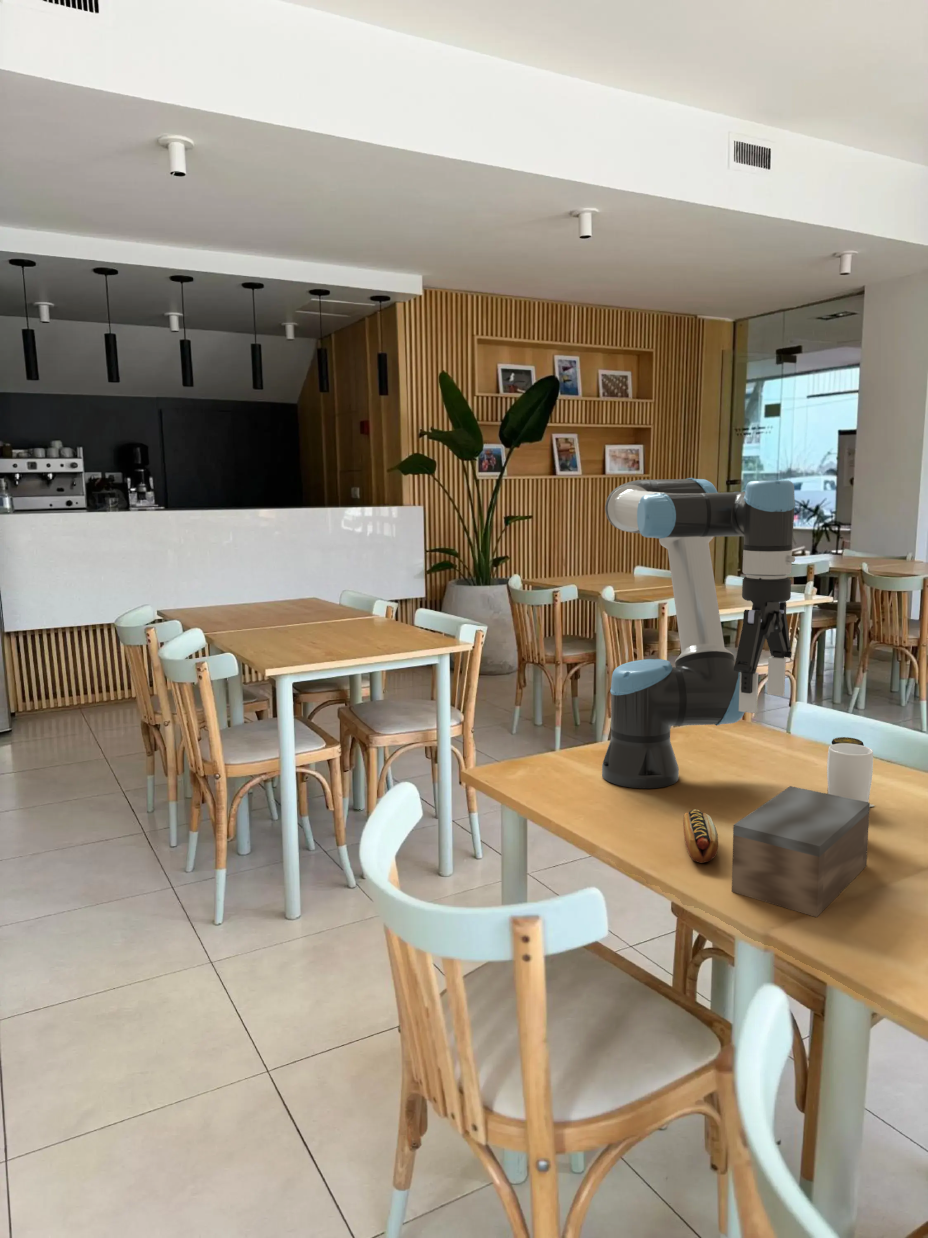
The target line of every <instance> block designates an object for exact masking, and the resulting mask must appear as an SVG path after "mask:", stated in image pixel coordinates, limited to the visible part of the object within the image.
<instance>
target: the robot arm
mask: <svg viewBox="0 0 928 1238" xmlns="http://www.w3.org/2000/svg"><path fill="white" fill-rule="evenodd" d="M795 497H796V496H795V484H794V483H793V481H791V480H787V479H786V480H783V479H782V480H780V479H779V480H778V479H777V480H751V481H748V482H747V484H746V486H745V490H744V491H734V492H718V490H717V488H716V487H715V485H714V484H713V483H712V482H711V481H710V480H707V479H703V478H694V477H687V478H685V479H684V478H681V479H679V478H678V479H677V478H676V479H675V478H674V479H673V478H672V479H671V478H670V479H663V478H662V479H637V480H631V481H628V482H625V483H622V484H621V485H618V486H617V487H615V488H614V489H613V490H612V491H611V492H610V493H609V495H608V497H606V498H607V499H606V501H605V505H604V511H605V512H604V513H605V516H606V518H607V520H608V522H609V523H610V524H611V526H612V527H614V528H616V529H618V530H619V531H621V532H627V533H633V534H640V535H641V536H642V537H644V538H647V539H648V538H653V539H658V541H659V544H660V546H662V547H663V548H665V549H667V554H668V563H669V569H670V570H669V571H670V576H671V584H672V591H673V600H674V601H673V602H674V606H675V615H676V622H677V630H678V636H679V637H678V638H679V644H680V652H681V653H680V654H679V655H678V657H677V658H676V659H675V661H674V664H675V666H674V667H673V665H672V663H671V662H670V660H668V659H661V658H656V659H655V658H654V659H652V658H647V659H646V658H645V659H639V660H632V661H629V662H626V663H622V664H620V665H618V666H617V667H615V668H614V670H613V671H612V674H611V681H610V682H611V683H610V684H611V685H610V690H609V691H610V692H609V693H610V694H611V695H610V702H611V704H610V709H611V710H610V715H611V716H610V740H609V744H608V747H607V749H606V752H605V756H604V758H603V761H602V763H601V764H602V765H601V775H602V778H603V779H604V780H605V781H606V782H609V783H611V784H614V785H616V786H620V787H626V788H632V789H658V788H664V787H665V788H666V787H668V786H671V785H674V784H675V783H677V782H678V781H679V778H680V777H679V775H680V774H679V773H680V770H679V764H678V762H677V759H676V755H675V752H674V749H673V746H672V742H671V727H674V726H676V727H677V726H706V725H708V726H710V725H711V726H712V725H714V726H720V725H727V724H730V725H731V724H735V723H737V722H739V721H740V720H741V719H742V718H743V716H744V714H745V713H748V714H749V713H750V714H755V715H756V714H757V713H758V698H759V697H758V694H759V672H757V669H758V665H759V662H760V658H761V654H762V652H763V648H764V644H765V641H766V642H767V647H768V649H769V652H770V656H769V657H768V658H767V660H768V661H767V662H768V663H767V687H766V688H767V690H766V694H767V695H769V696H778V697H784V696H785V690H786V689H785V687H786V686H785V685H786V661H787V659H786V658H789V659H791V658H792V655H793V654H792V651H791V649H792V647H791V640H790V631H789V622H788V618H787V601H790V600H791V597H792V595H791V593H792V579H791V578H790V577H788V576H790V575H791V574H792V563H794V562H795V561H796V558H795V556H792V555H793V545H794V544H793V541H794V540H793V539H794V538H793V537H794V521H795V508H796V500H795ZM715 537H720V538H721V537H743V552H742V556H743V557H742V571H741V572H742V573H743V574H744V575H745V576H744V577H743V578H742V581H741V584H742V585H741V590H742V591H741V597H742V599H743V600H745V601H747V602H751V603H752V605H751V606H752V607H751V609H744V611H743V618H742V619H743V620H742V625H741V626H742V627H741V632H740V637H739V643H738V646H737V647H738V648H737V651H736V657H735V655H734V653H733V652H731V651H730V650H729V649H727V648H726V647H725V642H724V635H723V629H722V623H721V621H722V620H721V617H720V616H721V614H720V608H719V603H718V596H717V590H716V581H715V576H714V569H713V562H712V556H711V550H710V548H711V547H710V544H709V543H710V542H711V541H712V540H713V538H715Z"/></svg>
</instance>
